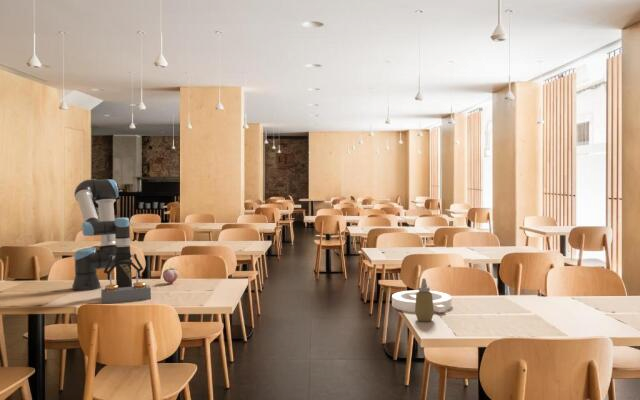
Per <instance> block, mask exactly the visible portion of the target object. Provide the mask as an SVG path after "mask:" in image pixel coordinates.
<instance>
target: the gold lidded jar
mask: <svg viewBox="0 0 640 400" xmlns="http://www.w3.org/2000/svg"><path fill="white" fill-rule="evenodd" d="M146 285H147V282H145V281H140V282H139V281H138V283H136V282H135V283H132V287H135V289H138V288H145V286H146Z"/></svg>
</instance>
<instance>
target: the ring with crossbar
mask: <svg viewBox="0 0 640 400" xmlns="http://www.w3.org/2000/svg"><path fill="white" fill-rule="evenodd" d="M417 292H419V289H417V290H416V289H415V290H404V291H403V290H401V291H398V292H395V293H393V294H392V295H391V306H392V307H393V308H394V309H397V310H400V311H403V312H409V313H415V304H416V293H417ZM429 292H431V293H432V299H433V308H434V313H446V311H447V310H448V311H449V310H450V309H452V296H451V294H449V293H445V292H441V291H435V290H434V291H433V290H430V291H429Z"/></svg>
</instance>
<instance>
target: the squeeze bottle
mask: <svg viewBox="0 0 640 400" xmlns="http://www.w3.org/2000/svg"><path fill="white" fill-rule="evenodd" d="M421 279H422V281H421V284H420V285H419V286H418V290H419V292H417V293H416V304H415V312H414V313H415V316H416V318H417V321H419V322H426V323H428V322H431V321H432V319H433V316H434V313H435V312H434V308H433V299H432V293H431V292H429V291H431V288H430V286H428V284H427V280H426V278H421Z"/></svg>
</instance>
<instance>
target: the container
mask: <svg viewBox="0 0 640 400" xmlns="http://www.w3.org/2000/svg"><path fill="white" fill-rule="evenodd" d="M131 262H133V260H132V259H131V258H130V259H129V260H128V259H127V260H126V259H121V260H115V263H116V267H115V274H116V275H115V278H116V279H115V281H116V283H115V285H118V288H123V287H133V281H132V280H133V277H132V275H133V274H132V265H131Z"/></svg>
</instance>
